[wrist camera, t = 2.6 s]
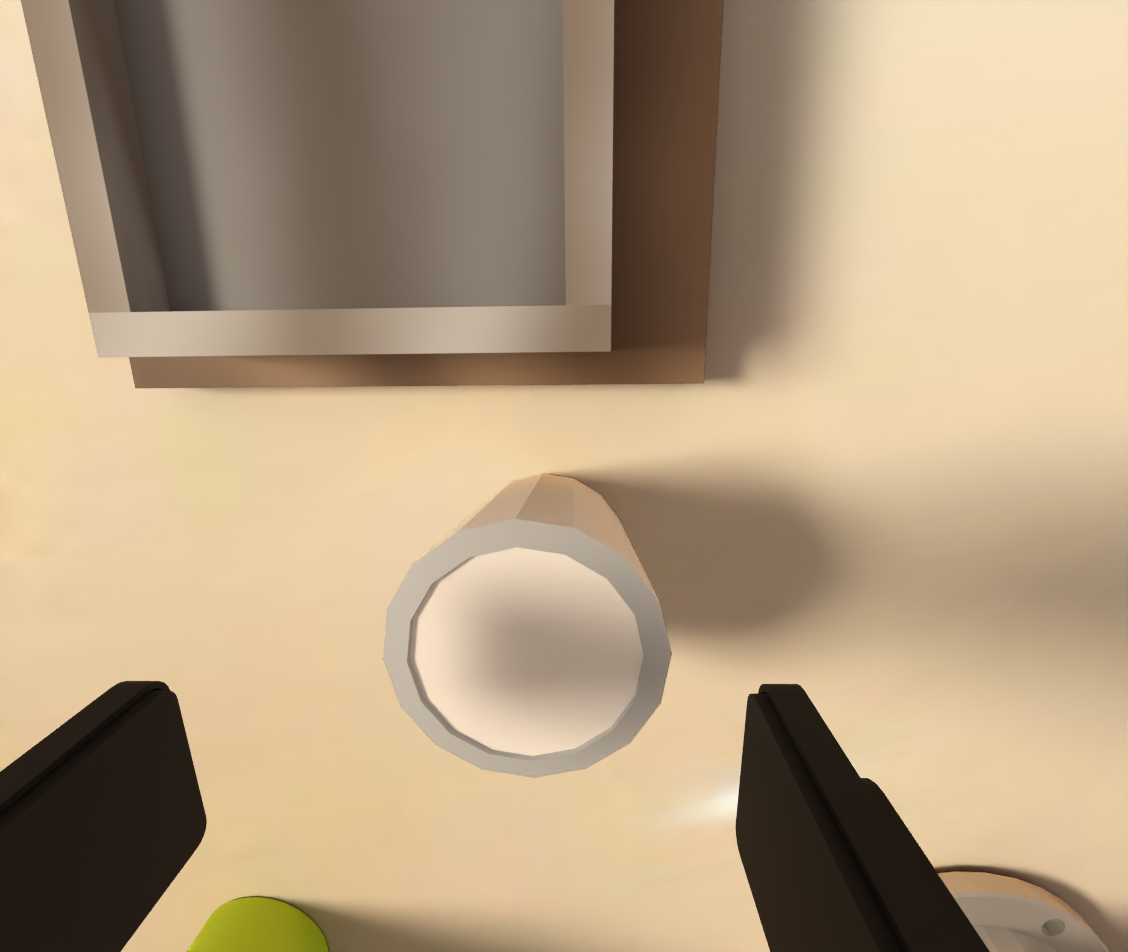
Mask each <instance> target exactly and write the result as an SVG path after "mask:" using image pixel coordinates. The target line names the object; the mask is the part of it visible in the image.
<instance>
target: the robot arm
mask: <svg viewBox="0 0 1128 952" xmlns="http://www.w3.org/2000/svg"><path fill="white" fill-rule="evenodd" d="M206 823H207V822H206V815H205V811H204V806H203V802H202V798H201V794H200V790H199V786H198V782H197V777H196V773H195V769H194V765H193V761H192V757H191V753H190V748H189V744H188V740H187V736H186V732H185V728H184V724H183V719H182V715H181V711H180V707H179V703H178V699H177V696H176V694H175V693H174V692H172V691H170V689H169V687H168V686H167V685H166V684H165V683H164V682H160V681H125V682H120V683H118V684H116V685H115V686H113V687H112V688H110V689H109V690H108V691H106V692H105V693H104V694H102V695H101V696H100V697H98V698H97V699H96V700H94V701H93V702H92V703H90V704H89V705H88V706H87V707H85V708H84V709H83V710H81V711H80V712H79V713H77V714H76V715H75V716H73V717H72V718H71V719H69V720H68V721H67V722H65V723H64V724H63V725H61V726H60V727H59V728H58V729H56V730H55V731H54V732H52V733H51V734H50V735H48V736H47V737H46V738H44V739H43V740H42V741H40V742H39V743H38V744H36V745H35V746H34V747H32V748H31V749H30V750H29V751H27V752H26V753H25V754H23V755H22V756H21V757H19V758H18V759H17V760H15V761H14V762H13V763H11V764H10V765H9V766H7V767H6V768H5V769H3V770H2V771H1V772H0V952H121V950H122V949H123V947H124V946H125V945H126V943H127V942H128V941H129V939H130V938H131V937H132V935H133V934H134V933H135V931H136V930H137V929H138V927H139V926H140V925H141V923H142V922H143V920H144V919H145V918H146V916H147V915H148V914H149V912H150V911H151V910H152V908H153V907H154V906H155V904H156V903H157V902H158V900H159V899H160V897H161V896H162V895H163V893H164V892H165V891H166V889H167V888H168V887H169V885H170V884H171V883H172V881H173V880H174V879H175V877H176V876H177V874H178V873H179V872H180V870H181V869H182V868H183V866H184V865H185V864H186V862H187V861H188V860H189V858H190V857H191V856H192V854H193V853H194V852H195V850H196V849H197V847H198V846H199V844H200V843H201V841H202V838H203V836H204V833H205V830H206ZM736 838H737V844H738V849H739V853H740V856H741V860H742V863H743V866H744V869H745V872H746V876H747V879H748V882H749V885H750V888H751V892H752V895H753V898H754V901H755V904H756V907H757V911H758V914H759V917H760V920H761V923H762V927H763V930H764V933H765V936H766V939H767V942H768V946H769V949H770V952H1109V950H1108V948H1107V947H1106V945H1105V944H1104V943H1103V942H1102V941H1101V939H1100V938H1099V937H1098V936H1097V935H1096V933H1095V932H1094V931H1093V930H1092V929H1091V927H1090V926H1089V925H1088V924H1087V923H1086V921H1085V920H1084V919H1083V918H1082V917H1081V916H1080V915H1079V914H1078V913H1077V912H1076V911H1075V910H1074V909H1073V908H1071V907H1070V906H1069V905H1068V904H1067V903H1066V902H1065V901H1063V900H1062V899H1060V898H1058V897H1057V896H1055V895H1053V894H1052V893H1050V892H1048V891H1047V890H1045V889H1043V888H1041V887H1038V886H1036V885H1033V884H1030V883H1027V882H1025V881H1022V880H1019V879H1017V878H1012V877H1006V876H1001V875H996V874H990V873H985V872H959V871H953V872H944V873H937V872H936V870H935V869H934V867H933V866H932V864H931V863H930V861H929V860H928V858H927V857H926V855H925V854H924V852H923V851H922V849H921V848H920V846H919V845H918V843H917V842H916V840H915V839H914V837H913V836H912V834H911V833H910V831H909V830H908V828H907V827H906V825H905V824H904V822H903V821H902V819H901V818H900V817H899V815H898V814H897V812H896V811H895V809H894V808H893V806H892V805H891V803H890V802H889V800H888V799H887V797H886V796H885V794H884V793H883V792H882V790H881V789H880V788H879V787H878V785H877V784H876V783H874V782H873V781H871V780H870V779H868V778H860V777H859V775H858V774H857V772H856V770H855V769H854V767H853V766H852V764H851V763H850V761H849V759H848V758H847V756H846V755H845V753H844V752H843V750H842V749H841V747H840V745H839V744H838V742H837V741H836V739H835V738H834V736H833V734H832V733H831V731H830V730H829V728H828V727H827V725H826V724H825V722H824V720H823V719H822V717H821V716H820V714H819V713H818V711H817V709H816V708H815V706H814V705H813V703H812V702H811V700H810V699H809V697H808V695H807V694H806V692H805V691H804V689H803V688H802V687H801V686H800V685H798V684H762V685H761V686H760V688H759V692H758V694H749V696H748V701H747V710H746V721H745V732H744V742H743V753H742V764H741V775H740V785H739V796H738V807H737V817H736Z"/></svg>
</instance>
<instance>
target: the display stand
mask: <svg viewBox="0 0 1128 952" xmlns="http://www.w3.org/2000/svg"><path fill="white" fill-rule="evenodd" d="M21 3H22V8H23V12H24V17H25V21H26V26H27V31H28V35H29V40H30V44H31V49H32V54H33V58H34V63H35V67H36V72H37V77H38V81H39V86H40V90H41V95H42V100H43V104H44V109H45V113H46V118H47V123H48V127H49V132H50V137H51V141H52V146H53V150H54V155H55V160H56V164H57V169H58V173H59V178H60V183H61V187H62V192H63V196H64V201H65V206H66V210H67V215H68V219H69V224H70V229H71V233H72V238H73V242H74V247H75V252H76V256H77V261H78V265H79V270H80V275H81V279H82V284H83V288H84V293H85V298H86V302H87V307H88V311H89V316H90V321H91V325H92V330H93V334H94V339H95V344H96V348H97V353H98V357H129V359H130V364H131V369H132V374H133V379H134V384H135V388H222V387H339V386H457V385H574V384H691V383H704V368H705V348H706V329H707V309H708V290H709V270H710V251H711V232H712V212H713V193H714V173H715V154H716V134H717V115H718V95H719V76H720V56H721V37H722V17H723V0H21Z"/></svg>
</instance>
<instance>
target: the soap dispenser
mask: <svg viewBox="0 0 1128 952" xmlns="http://www.w3.org/2000/svg"><path fill="white" fill-rule="evenodd" d="M187 952H328V946H327V942H326V940H325V937H324V935H323V933H322V932H321V930H320V929H319V927H318V926H317V925H316V924H315V923H314V922H313V921H312V920H311V919H310V918H309V917H308V916H307V915H306V914H304V913H303V912H301V911H300V910H298V909H297V908H295V907H293V906H291V905H289V904H286V903H284V902H281V901H278V900H274V899H270V898H263V897H247V898H240V899H236V900H233V901H230V902H228V903H226V904H224V905H222V906H221V907H219V908H218V909H217V910H216V911H215V912H214V913H213V914H212V915H211V916H210V918H209V919H208V921H207V922H206V924H205V925H204V927H203V928H202V930H201V931H200V933H199V934H198V936H197V937H196V939H195V940H194V942H193V943H192V945H191V946H190V948H189V949H188V951H187Z"/></svg>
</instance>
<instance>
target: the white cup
mask: <svg viewBox="0 0 1128 952" xmlns="http://www.w3.org/2000/svg"><path fill="white" fill-rule="evenodd" d="M671 655H672V653H671V649H670V644H669V640H668V636H667V631H666V627H665V622H664V618H663V614H662V609H661V605H660V602H659V600H658V598H657V596H656V594H655V592H654V590H653V588H652V585H651V583H650V581H649V579H648V577H647V575H646V573H645V571H644V569H643V567H642V565H641V563H640V561H639V559H638V557H637V555H636V553H635V551H634V549H633V547H632V545H631V543H630V541H629V539H628V537H627V535H626V533H625V531H624V529H623V527H622V525H621V523H620V521H619V519H618V517H617V516H616V515H615V513H614V512H613V511H612V509H611V508H610V507H609V505H608V504H607V503H606V501H605V500H604V499H603V497H602V496H601V495H600V494H599V493H598V492H596V491H594V490H592V489H591V488H589V487H587V486H586V485H584V484H582V483H581V482H579V481H577V480H576V479H574V478H568V477H562V476H555V475H549V474H539V475H535V476H530V477H526V478H522V479H518V480H513V481H512V482H510V483H509V484H507V485H506V486H505V487H503V488H502V489H501V490H499V491H498V492H496V493H495V494H494V495H492V496H491V497H490V498H488V499H487V500H486V501H485V502H484V503H483V504H481V505H480V506H479V507H478V508H477V509H476V510H474V511H473V512H472V513H471V514H470V515H469V516H467V517H466V518H465V519H464V520H463V521H462V522H461V523H459V524H458V525H457V526H456V527H455V528H454V529H452V530H451V531H450V532H449V533H448V534H447V535H446V536H444V537H443V538H442V539H441V540H440V541H439V542H437V543H436V544H435V545H434V546H433V547H432V548H430V549H429V550H428V551H427V552H426V553H425V554H424V555H422V556H421V557H420V558H419V559H418V560H417V561H415V562H414V563H413V564H412V566H411V568H410V569H409V571H408V573H407V575H406V576H405V578H404V580H403V582H402V583H401V585H400V587H399V589H398V591H397V592H396V594H395V596H394V598H393V599H392V601H391V603H390V605H389V606H388V608H387V615H386V629H385V644H384V658H383V660H384V662H385V665H386V668H387V670H388V673H389V676H390V679H391V681H392V684H393V687H394V689H395V692H396V695H397V698H398V700H399V703H400V706H401V707H402V708H403V710H404V711H405V712H406V713H407V714H408V715H409V716H410V717H411V718H412V719H413V721H414V722H415V723H416V724H417V725H418V726H419V727H420V728H421V729H422V730H423V732H424V733H425V734H426V735H427V736H428V737H429V738H430V739H431V740H432V741H433V743H434V744H435V745H437V746H439V747H441V748H443V749H444V750H446V751H448V752H450V753H452V754H454V755H456V756H458V757H460V758H462V759H463V760H465V761H467V762H469V763H471V764H473V765H475V766H477V767H479V768H480V769H483V770H489V771H495V772H502V773H508V774H514V775H521V776H527V777H533V778H536V777H541V776H547V775H553V774H558V773H564V772H570V771H576V770H581V769H586V768H588V767H590V766H592V765H593V764H595V763H597V762H598V761H600V760H602V759H604V758H605V757H607V756H609V755H610V754H612V753H614V752H616V751H617V750H619V749H621V748H622V747H624V746H626V745H628V744H629V743H631V741H632V740H633V739H634V737H635V736H636V735H637V734H638V732H639V731H640V730H641V728H642V727H643V726H644V724H645V723H646V722H647V720H648V719H649V718H650V716H651V715H652V714H653V712H654V711H655V710H656V709H657V707H658V706H659V705H660V703H661V700H662V695H663V691H664V686H665V682H666V677H667V673H668V668H669V664H670V659H671Z"/></svg>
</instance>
